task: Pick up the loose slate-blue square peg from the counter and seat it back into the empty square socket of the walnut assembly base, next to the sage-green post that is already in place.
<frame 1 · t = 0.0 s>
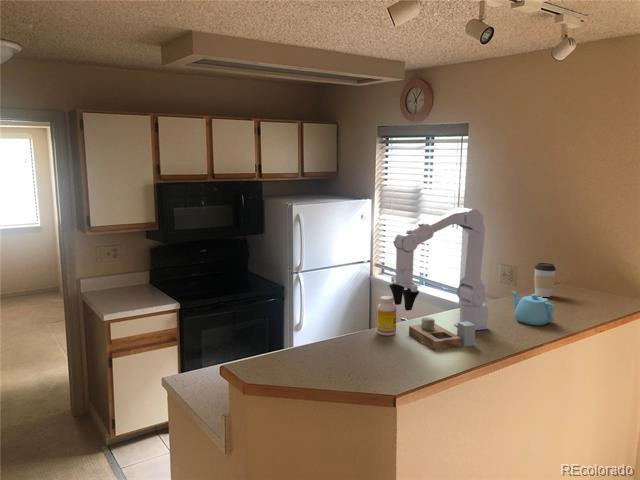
hand: (403, 307, 175), 10 cm above the counter, fingers open, 7 cm apart
supplement bottle: (386, 333, 179), on the counter, touching gripper
peg: (465, 343, 169), on the counter
teapot: (530, 321, 195), on the counter
coffee cup: (542, 296, 232), on the counter
base: (433, 340, 172), on the counter
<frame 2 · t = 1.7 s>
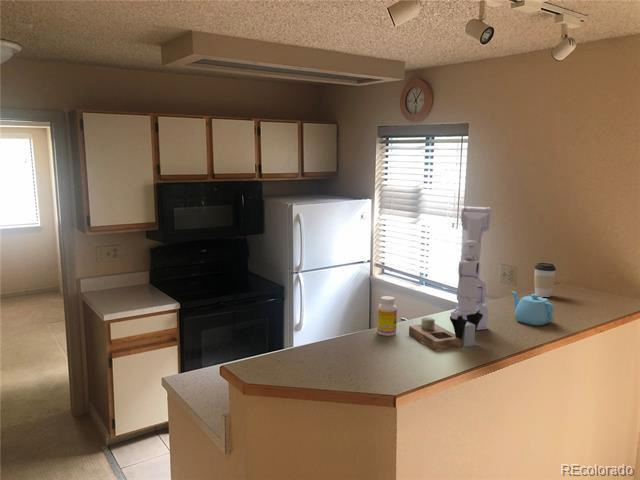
hand: (465, 336, 168), 3 cm above the counter, fingers open, 6 cm apart
supplement bottle: (386, 333, 179), on the counter
everything else where it was.
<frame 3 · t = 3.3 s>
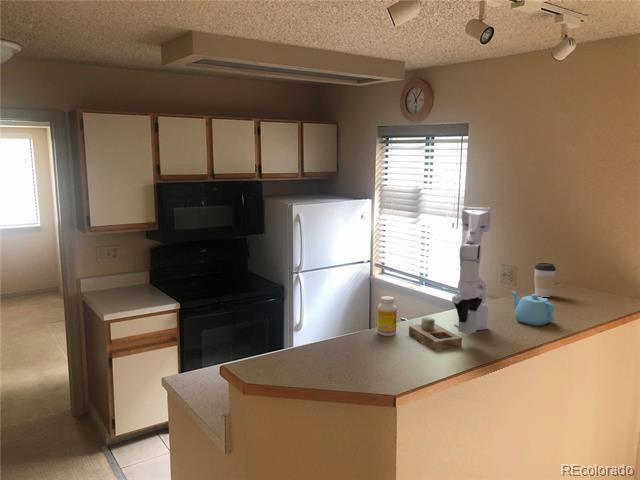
hand: (466, 320, 168), 8 cm above the counter, fingers closed on peg, 4 cm apart
peg: (466, 331, 168), point 4 cm above the counter, touching gripper
everything else where it was.
when the fingers open (4 cm above the counter, at t = 5.2 s): peg stays where it is, resting in base.
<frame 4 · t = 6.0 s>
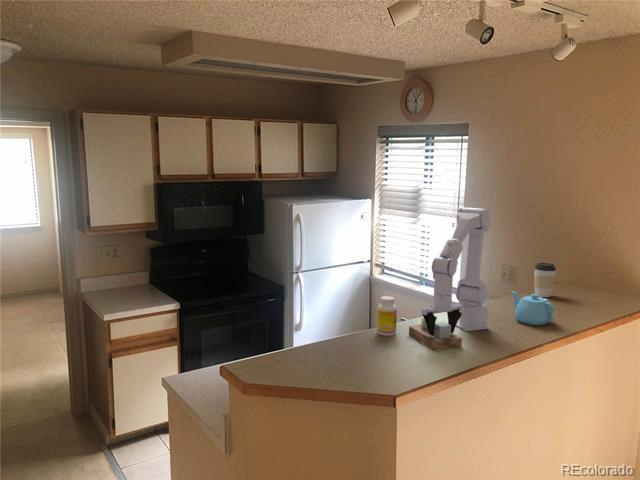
hand: (441, 333, 168), 4 cm above the counter, fingers open, 7 cm apart
peg: (441, 344, 168), resting in base
everything else where it was.
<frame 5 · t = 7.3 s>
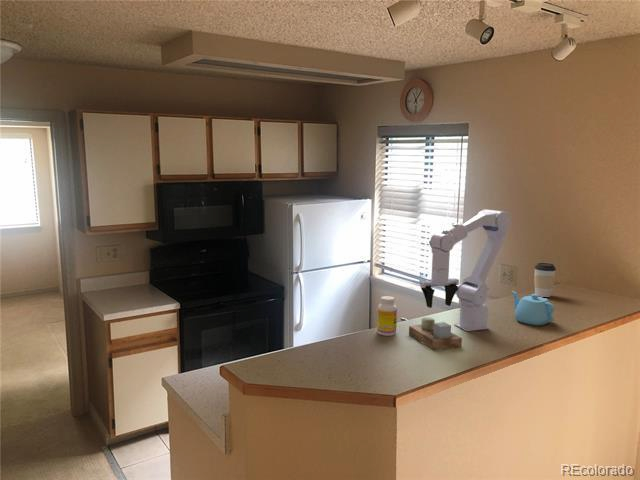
hand: (438, 306, 178), 10 cm above the counter, fingers open, 7 cm apart
nothing on the counter moved.
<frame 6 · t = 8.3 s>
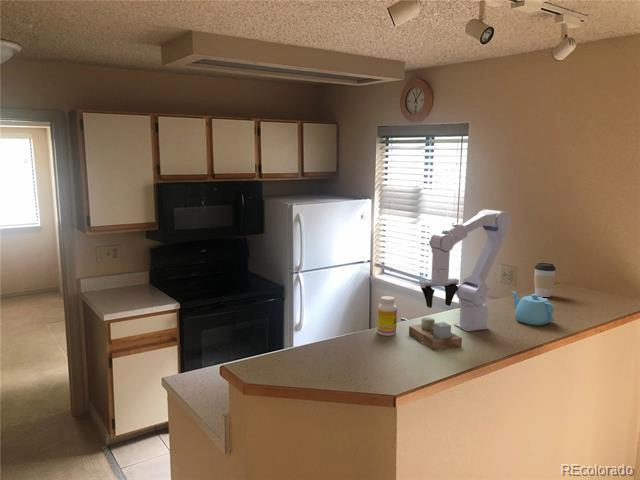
hand: (438, 306, 178), 10 cm above the counter, fingers open, 7 cm apart
nothing on the counter moved.
at the end: peg 0.6 cm from the target spot on the base, point 0.0 cm above the base's base; peg tilted 0°; the gripper is holding nothing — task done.
